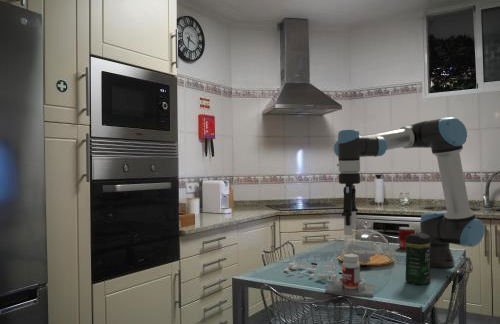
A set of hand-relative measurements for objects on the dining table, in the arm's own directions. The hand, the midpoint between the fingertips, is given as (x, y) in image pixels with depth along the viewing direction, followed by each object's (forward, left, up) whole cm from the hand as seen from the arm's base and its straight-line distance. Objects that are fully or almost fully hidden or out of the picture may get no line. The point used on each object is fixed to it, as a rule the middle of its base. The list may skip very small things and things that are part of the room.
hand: (350, 231), depth 144 cm
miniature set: (+16, -15, -21) cm, 30 cm away
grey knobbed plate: (0, 0, -21) cm, 21 cm away
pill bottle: (0, 0, -20) cm, 20 cm away
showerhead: (-2, -38, -21) cm, 43 cm away
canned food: (-21, -85, -21) cm, 90 cm away
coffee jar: (-23, -17, -21) cm, 36 cm away
